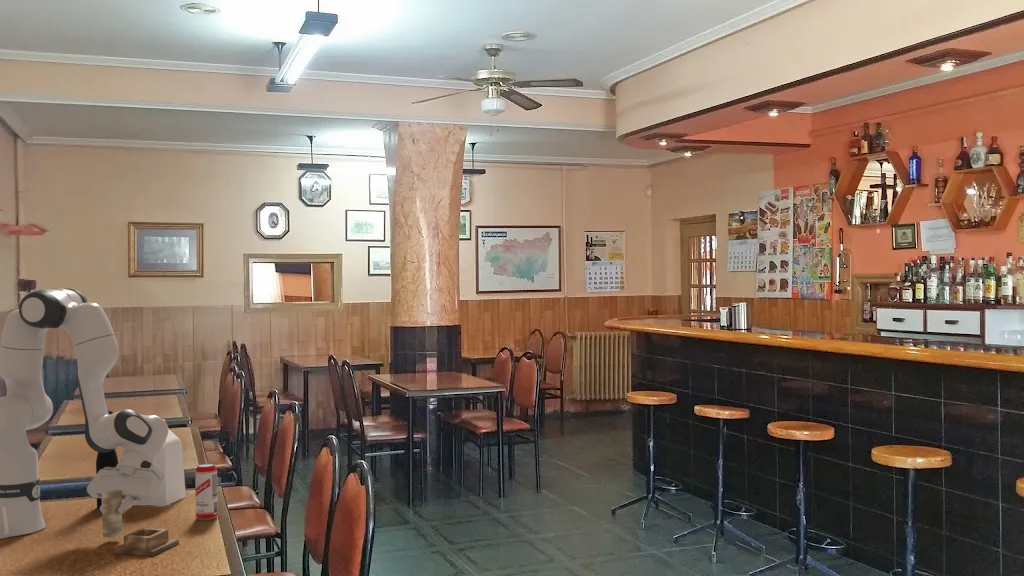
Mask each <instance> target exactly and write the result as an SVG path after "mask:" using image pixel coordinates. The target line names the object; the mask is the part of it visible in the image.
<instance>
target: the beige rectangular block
mask: <svg viewBox="0 0 1024 576" xmlns="http://www.w3.org/2000/svg"><path fill="white" fill-rule="evenodd" d="M122 503H123V500H122V491H121V490H109V491H106V492H103V493H102V512H101V513H102V514H101V515H102V517H101V519H102V523H101V525H102V526H101V527H102V532H101V533H102V536H101V537H102V538H115V537H116V538H117V537H118V536H121V535H123V513H122V514H120V513H117V512H116V511H115V509H116V508H117V505H121V504H122Z"/></svg>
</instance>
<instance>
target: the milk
mask: <svg viewBox="0 0 1024 576" xmlns="http://www.w3.org/2000/svg"><path fill="white" fill-rule="evenodd" d="M162 419H163V420H164V421H165V422H166V419H164V418H162ZM154 463H155V464H156V465H157V466H158V467H159V469H160V470H161V471H162V473H163V474H164V479H163V480H162V481H160V482H161V487H160V489H159V492H158V494H157V496H156V498H155V499H154V500H153V501H151V502H144V501H133V502H132V506H134V505H162V506H161V507H167V506H166V505H168V506H170V505H172V504H171V503H173V502H175V503H176V501H177V502H179V501H181V500H183V499H185V498H186V497H187V496H186V494H187V493H186V482H185V481H186V480H185V471H184V470H185V468H184V467H185V466H184V457H183V443H182V440H181V439H180V437H178V436H177V435H176V434H175V433H174V432H173V431H171V430H170V428H168V436H167V439H166V441H165V444H164V446H163V448H162V450H161V452H160V454H159V455H158V456H157V457H156V459H155V462H154ZM180 499H181V500H180ZM178 500H179V501H178ZM169 504H170V505H169ZM173 504H174V503H173Z"/></svg>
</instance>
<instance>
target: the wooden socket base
mask: <svg viewBox="0 0 1024 576" xmlns="http://www.w3.org/2000/svg"><path fill="white" fill-rule="evenodd" d="M169 536H170V535H169V529H167V528H151V527H149V528H148V527H142V528H140V529H139V528H138V529H137V530H134V531H132V532H130V533H128V534H125V535H123V544H121V545H119V546H116V547H114V548H113V549H112V553H113V554H115V553H117V554H120V555H129V554H134V555H133V556H143V555H144V557H145V556H146V557H155V556H157V555H159V554H161V553H163V552H165V551H167V550H169V549H171V548H173V547H175V546H177V545H179V542H180V540H179V539H178V538H170V537H169ZM158 553H159V554H158ZM156 554H157V555H156ZM154 555H155V556H154Z"/></svg>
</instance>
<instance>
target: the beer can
mask: <svg viewBox="0 0 1024 576" xmlns="http://www.w3.org/2000/svg"><path fill="white" fill-rule="evenodd" d="M196 467H197V468H196V469H195V472H194V479H195V480H194V482H195V485H194V486H195V518H196V519H198V520H199V521H211V520H215V519H216V518H217V517H218V515H219V509H218V508H219V506H218V505H219V503H218V502H219V499H218V498H219V497H218V469H217V467H216V463H213V462H206V463H199V464H197V465H196Z"/></svg>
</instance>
